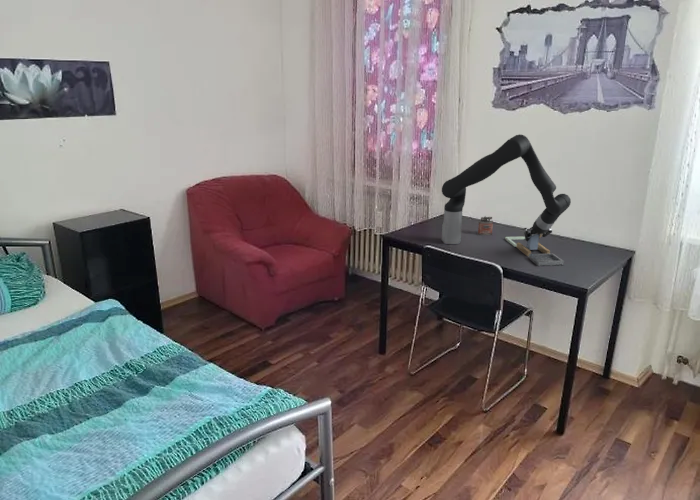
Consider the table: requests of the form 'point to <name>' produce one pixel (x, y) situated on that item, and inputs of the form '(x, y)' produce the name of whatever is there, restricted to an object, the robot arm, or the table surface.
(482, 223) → the lighter
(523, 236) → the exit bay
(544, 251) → the rail channel
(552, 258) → the tray
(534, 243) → the block
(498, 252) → the table surface
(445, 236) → the robot arm
